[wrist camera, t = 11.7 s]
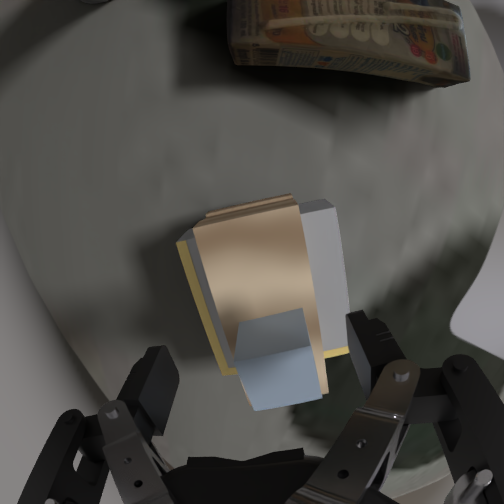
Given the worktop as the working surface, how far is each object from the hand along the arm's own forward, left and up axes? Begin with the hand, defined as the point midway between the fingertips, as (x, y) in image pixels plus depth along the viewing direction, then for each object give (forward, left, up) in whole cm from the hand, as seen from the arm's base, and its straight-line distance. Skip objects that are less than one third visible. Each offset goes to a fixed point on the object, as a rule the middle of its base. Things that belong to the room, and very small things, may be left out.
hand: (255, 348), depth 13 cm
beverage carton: (-17, +11, -15) cm, 26 cm away
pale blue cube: (+4, 0, -6) cm, 7 cm away
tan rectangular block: (+2, 0, -11) cm, 11 cm away
